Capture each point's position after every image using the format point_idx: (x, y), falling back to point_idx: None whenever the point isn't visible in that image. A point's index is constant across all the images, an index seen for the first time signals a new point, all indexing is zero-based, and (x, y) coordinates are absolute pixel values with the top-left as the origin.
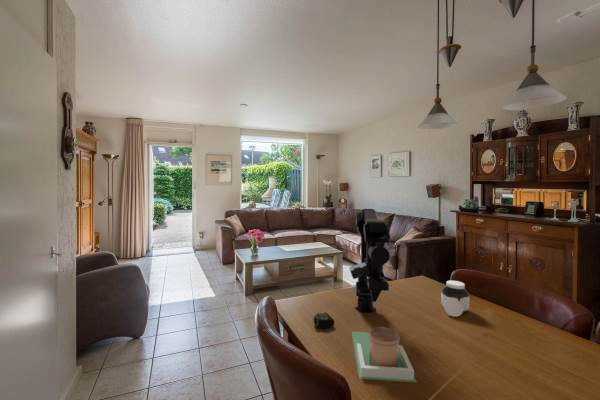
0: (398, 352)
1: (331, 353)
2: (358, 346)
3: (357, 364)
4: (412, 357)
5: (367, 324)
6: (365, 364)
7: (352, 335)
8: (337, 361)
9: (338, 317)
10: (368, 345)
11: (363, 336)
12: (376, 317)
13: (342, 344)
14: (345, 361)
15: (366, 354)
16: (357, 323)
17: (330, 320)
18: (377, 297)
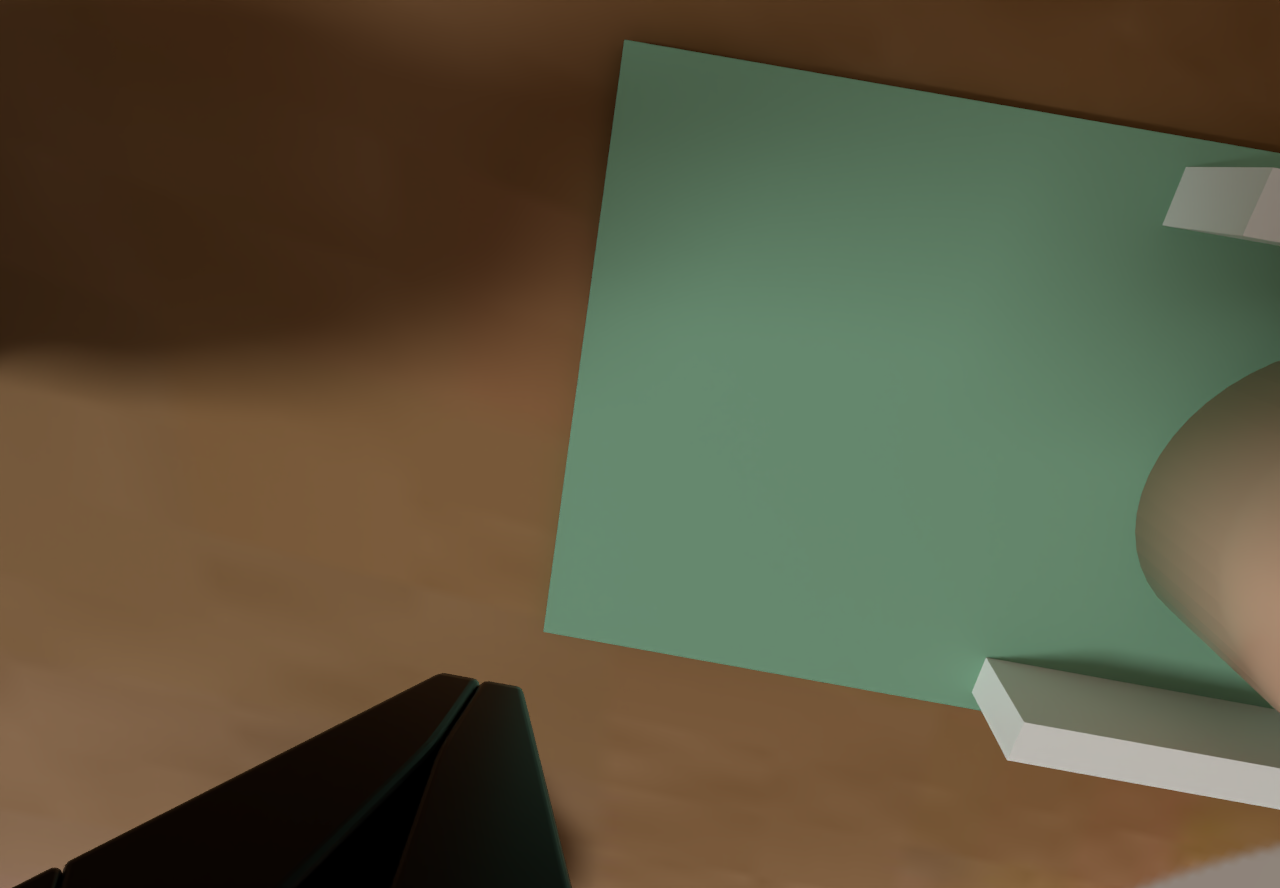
0: (1195, 230)
1: (929, 882)
2: (1083, 761)
3: None
4: (1274, 24)
5: (310, 365)
6: (1235, 678)
7: (637, 646)
8: (1069, 866)
9: (164, 668)
10: (886, 539)
11: (668, 532)
12: (49, 142)
13: (787, 766)
14: (1090, 809)
15: (1064, 617)
16: (296, 490)
17: None
18: (551, 810)
